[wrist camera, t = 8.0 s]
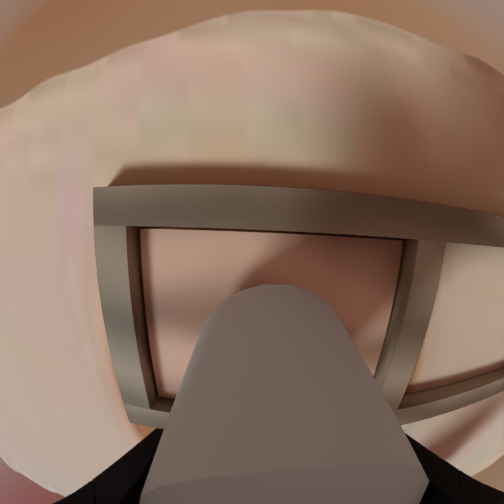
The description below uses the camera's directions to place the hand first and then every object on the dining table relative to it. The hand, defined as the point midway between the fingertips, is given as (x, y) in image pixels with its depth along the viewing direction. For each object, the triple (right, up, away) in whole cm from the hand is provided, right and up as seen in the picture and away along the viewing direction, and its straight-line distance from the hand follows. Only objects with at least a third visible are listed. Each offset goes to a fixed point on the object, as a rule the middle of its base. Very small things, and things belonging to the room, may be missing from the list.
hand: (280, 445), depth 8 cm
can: (0, +2, +7) cm, 7 cm away
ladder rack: (+9, +1, +8) cm, 12 cm away
